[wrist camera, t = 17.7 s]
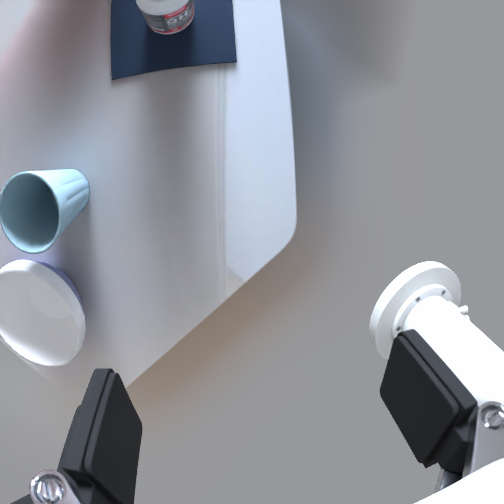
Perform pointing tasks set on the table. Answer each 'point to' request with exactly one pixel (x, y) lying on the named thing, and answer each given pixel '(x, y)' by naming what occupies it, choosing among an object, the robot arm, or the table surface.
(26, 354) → the bowl
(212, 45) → the placemat
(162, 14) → the pill bottle
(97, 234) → the table surface
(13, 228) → the cup
